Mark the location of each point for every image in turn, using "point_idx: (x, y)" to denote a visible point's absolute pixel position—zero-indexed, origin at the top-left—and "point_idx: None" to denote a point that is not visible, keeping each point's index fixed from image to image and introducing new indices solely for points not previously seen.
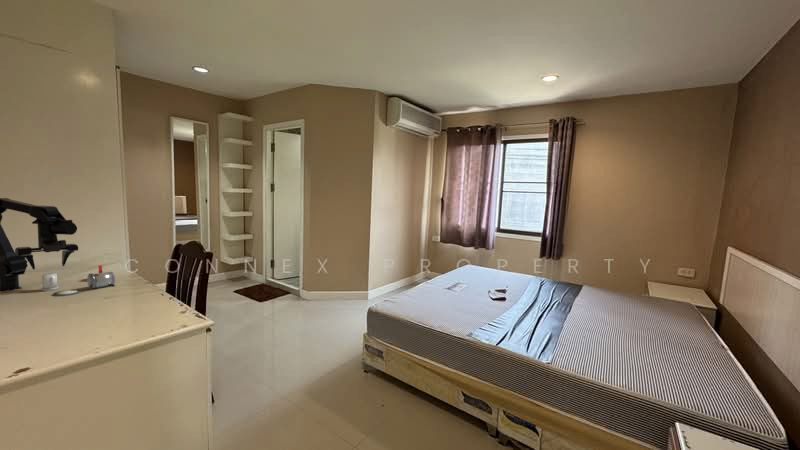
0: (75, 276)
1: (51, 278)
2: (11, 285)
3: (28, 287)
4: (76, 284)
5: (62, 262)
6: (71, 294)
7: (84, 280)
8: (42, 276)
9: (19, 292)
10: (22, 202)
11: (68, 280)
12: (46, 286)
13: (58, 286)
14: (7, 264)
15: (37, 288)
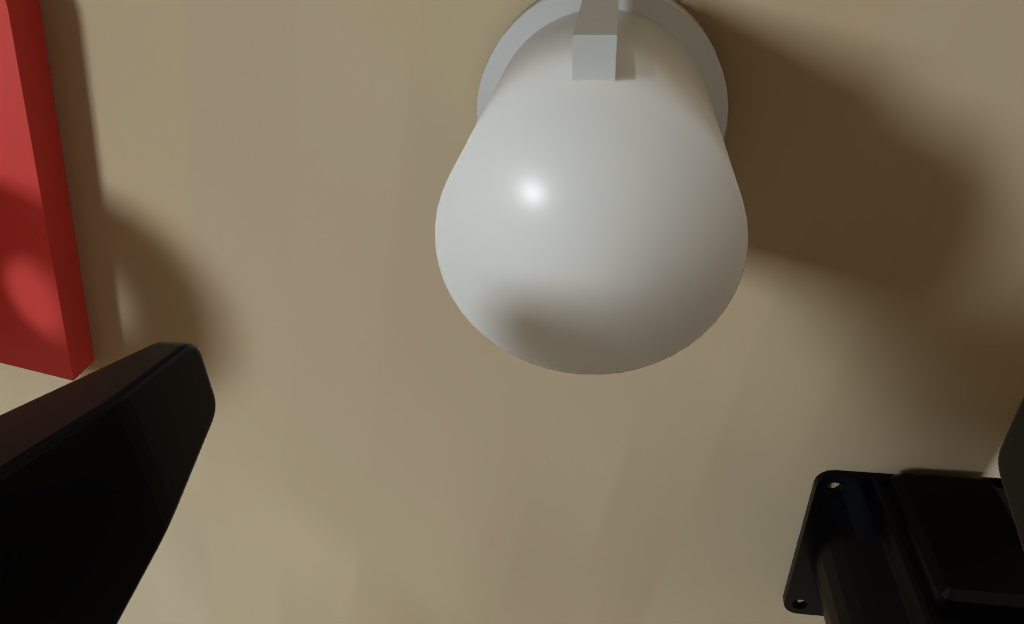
0: (252, 617)
1: (598, 23)
2: (961, 525)
3: (748, 468)
4: (241, 190)
5: (127, 486)
6: None
7: None
8: (743, 229)
9: (961, 254)
10: None
11: (323, 499)
12: (679, 50)
13: (482, 98)
14: None
15: None
